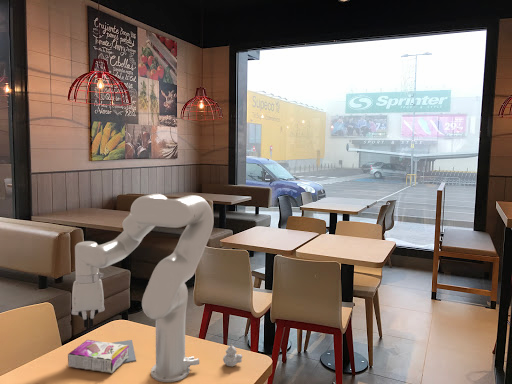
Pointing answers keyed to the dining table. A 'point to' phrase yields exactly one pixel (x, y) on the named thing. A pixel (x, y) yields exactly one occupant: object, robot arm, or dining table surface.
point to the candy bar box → (98, 356)
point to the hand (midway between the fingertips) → (88, 328)
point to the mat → (131, 350)
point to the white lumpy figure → (232, 356)
